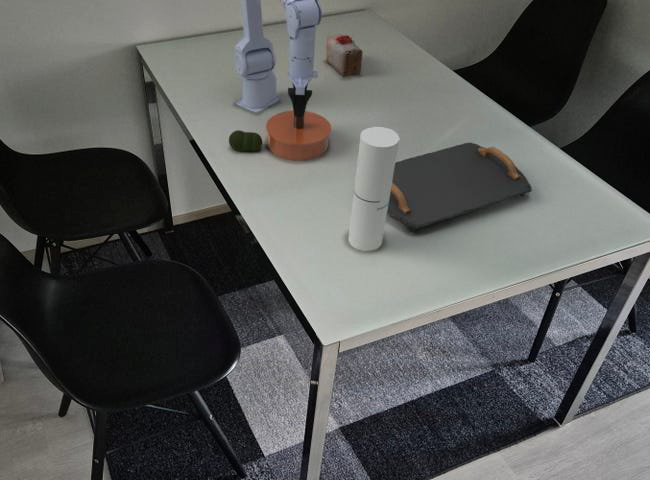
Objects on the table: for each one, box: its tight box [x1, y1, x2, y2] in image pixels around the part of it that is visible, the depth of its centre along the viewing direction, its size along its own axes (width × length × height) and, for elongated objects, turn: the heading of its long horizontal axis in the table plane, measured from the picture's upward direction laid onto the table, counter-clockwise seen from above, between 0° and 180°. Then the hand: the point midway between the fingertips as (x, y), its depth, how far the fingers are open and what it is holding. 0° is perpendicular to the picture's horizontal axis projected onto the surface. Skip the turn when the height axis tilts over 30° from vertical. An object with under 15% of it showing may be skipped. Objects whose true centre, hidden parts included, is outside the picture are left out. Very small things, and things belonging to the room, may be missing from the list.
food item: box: [325, 33, 363, 78], centre depth 192 cm, size 14×8×10 cm, turn 23°
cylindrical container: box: [348, 126, 400, 252], centre depth 127 cm, size 7×7×25 cm
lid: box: [265, 110, 332, 146], centre depth 157 cm, size 16×16×5 cm
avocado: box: [228, 130, 263, 152], centre depth 158 cm, size 8×5×5 cm, turn 88°
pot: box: [267, 133, 330, 162], centre depth 160 cm, size 15×15×5 cm
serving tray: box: [387, 142, 533, 233], centre depth 147 cm, size 39×23×6 cm, turn 117°
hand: (299, 108), depth 155 cm, fingers open, 7 cm apart
